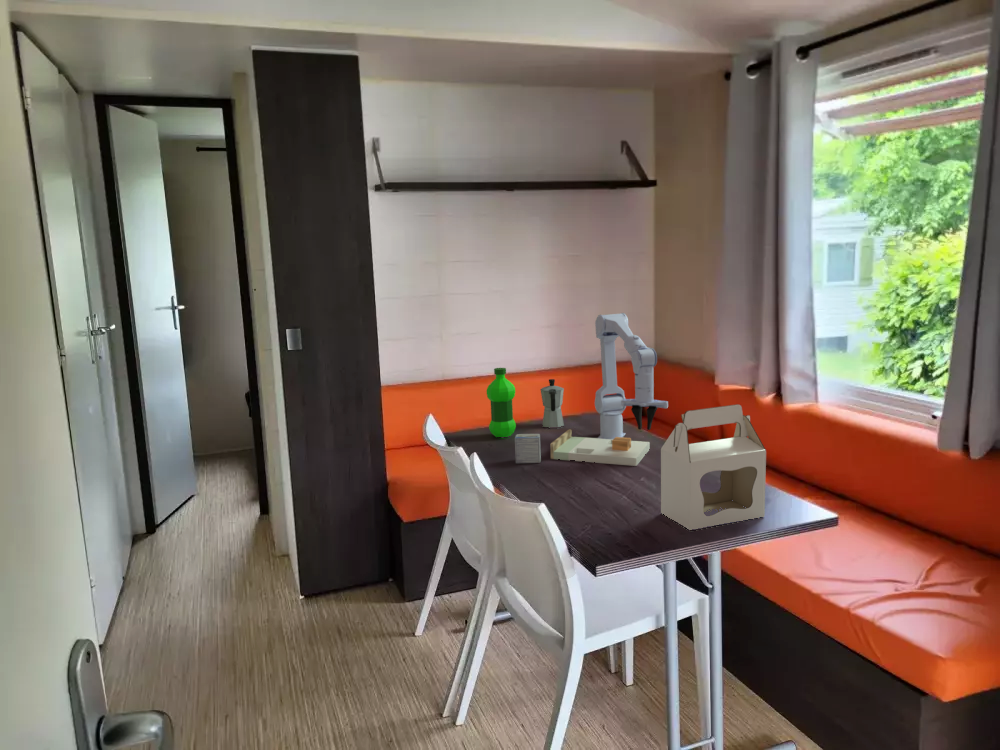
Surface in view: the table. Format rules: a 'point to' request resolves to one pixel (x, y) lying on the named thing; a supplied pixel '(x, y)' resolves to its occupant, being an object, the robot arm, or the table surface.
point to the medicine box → (527, 448)
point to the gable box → (730, 455)
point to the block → (621, 443)
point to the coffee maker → (552, 405)
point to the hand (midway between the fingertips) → (644, 429)
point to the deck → (596, 450)
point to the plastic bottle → (501, 405)
